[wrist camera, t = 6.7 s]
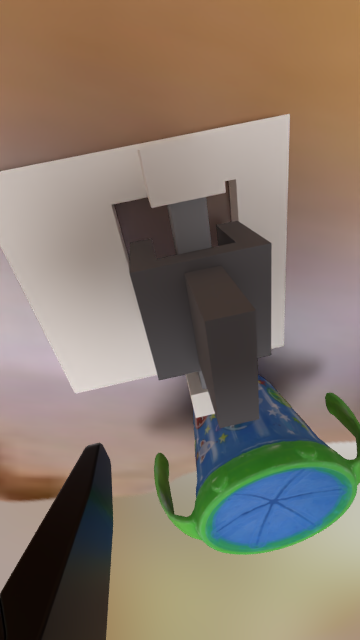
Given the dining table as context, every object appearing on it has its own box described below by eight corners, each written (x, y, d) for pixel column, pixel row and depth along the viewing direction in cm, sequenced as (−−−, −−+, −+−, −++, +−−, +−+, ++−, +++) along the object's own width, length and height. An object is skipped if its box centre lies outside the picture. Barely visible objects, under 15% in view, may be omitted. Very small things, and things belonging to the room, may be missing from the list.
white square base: (275, 335, 24) (319, 391, 18) (78, 380, 23) (61, 452, 18) (277, 116, 16) (354, 98, 10) (-21, 175, 15) (-107, 189, 10)
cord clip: (242, 313, 19) (311, 415, 12) (153, 333, 19) (167, 449, 11) (237, 220, 16) (327, 280, 8) (130, 242, 16) (127, 323, 8)
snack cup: (313, 330, 24) (416, 431, 15) (311, 413, 30) (385, 522, 21) (133, 379, 24) (134, 508, 15) (164, 452, 29) (178, 579, 21)
